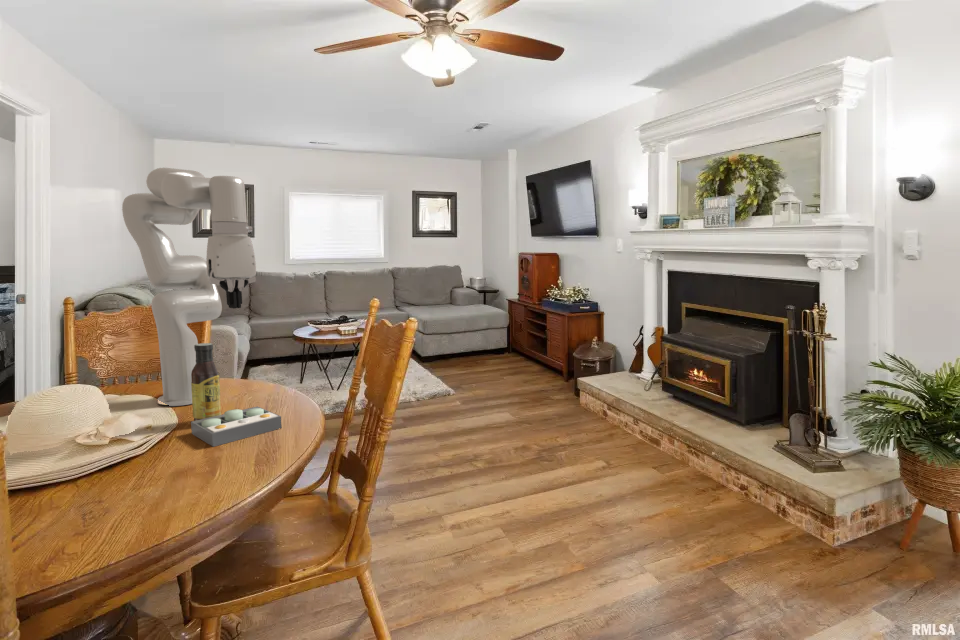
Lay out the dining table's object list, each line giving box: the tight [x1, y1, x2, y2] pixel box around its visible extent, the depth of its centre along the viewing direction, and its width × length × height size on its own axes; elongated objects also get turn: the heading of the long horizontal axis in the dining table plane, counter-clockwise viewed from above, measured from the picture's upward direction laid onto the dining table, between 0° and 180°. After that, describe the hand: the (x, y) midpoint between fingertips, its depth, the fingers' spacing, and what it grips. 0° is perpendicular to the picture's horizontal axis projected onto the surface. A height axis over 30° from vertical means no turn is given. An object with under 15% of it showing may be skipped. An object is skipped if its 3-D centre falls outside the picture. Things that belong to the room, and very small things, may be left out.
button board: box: [190, 405, 282, 447], centre depth 125 cm, size 12×16×3 cm
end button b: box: [246, 407, 265, 417], centre depth 130 cm, size 4×4×3 cm
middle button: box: [223, 408, 243, 422], centre depth 126 cm, size 4×4×3 cm
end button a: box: [202, 418, 221, 428], centre depth 123 cm, size 4×4×3 cm
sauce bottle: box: [191, 342, 222, 421], centre depth 131 cm, size 7×6×20 cm
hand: (234, 307), depth 127 cm, fingers closed
